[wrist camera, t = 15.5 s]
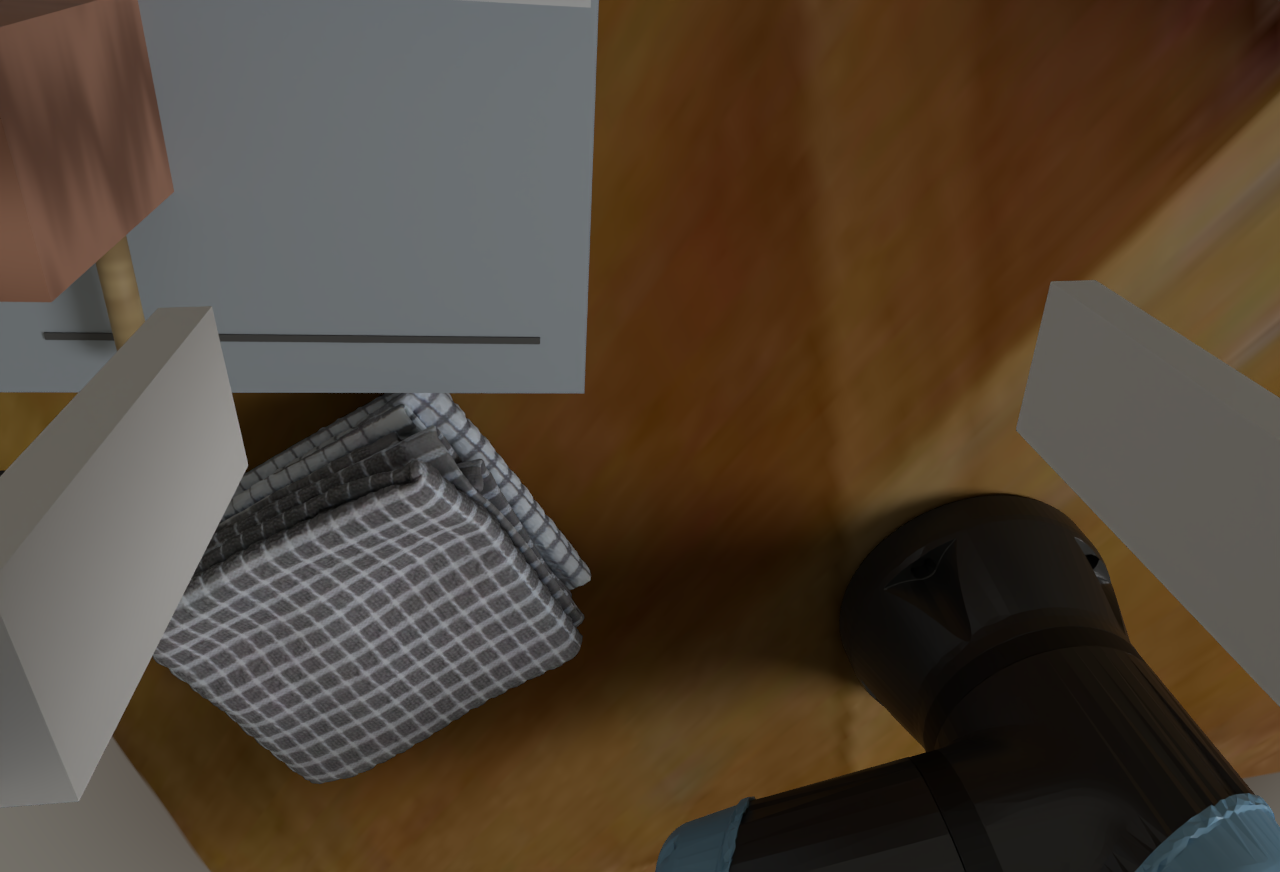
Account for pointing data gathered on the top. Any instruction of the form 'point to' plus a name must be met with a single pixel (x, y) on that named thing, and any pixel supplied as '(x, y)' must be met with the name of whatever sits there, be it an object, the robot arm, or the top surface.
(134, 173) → the brown blocky piece
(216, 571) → the towel
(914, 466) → the top surface
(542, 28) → the board
